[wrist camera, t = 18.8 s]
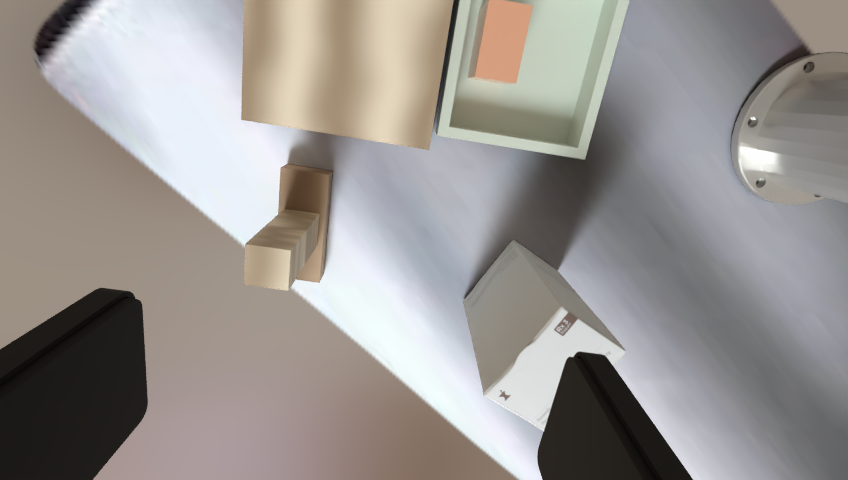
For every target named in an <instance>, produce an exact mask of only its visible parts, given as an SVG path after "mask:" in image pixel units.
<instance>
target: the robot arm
mask: <svg viewBox="0 0 848 480" xmlns="http://www.w3.org/2000/svg"><path fill="white" fill-rule="evenodd" d="M731 155H732V162H733V166H734V169H735V171H736V174H737V176H738V178H739V179H740V181H741V182H742V184H743V185H744V186H745V187H746V188H747V189H748V190H749V191H750V192H752V193H753V194H755V195H756V196H758V197H760V198H762V199H765V200H768V201H771V202H774V203H778V204H785V205H802V204H807V203H812V202H816V201H818V200H821V199H824V198H826V197H827V198H830V199H834V200H838V201H842V202H845V203H848V53H843V52H827V53H817V54H812V55H808V56H804V57H801V58H798V59H796V60H794V61H791V62H789V63H787V64H785V65H784V66H782V67H781V68H779V69H777V70H776V71H774V72H773V73H772V74H771V75H769V76H768V77H767V78H766V79H765V80H764V81H763V82H761V83H760V85H759V86H758V87H757V88H756V89H755V90H754V92H753V93H752V94H751V95H750V96H749V98H748V100H747V101H746V103H745V104H744V106H743V108H742V109H741V112H740V114H739V116H738V119H737V121H736V123H735V127H734V131H733V135H732V144H731ZM145 364H146V363H145V346H144V328H143V310H142V304H141V302H140V301H139V300H137V299H135V297H134V294H133V293H131V292H129V291H122V290H114V289H106V288H99V289H96V290H94V291H93V292H91V293H90V294H88V295H86V296H85V297H83V298H82V299H80V300H78V301H77V302H75V303H74V304H72V305H70V306H69V307H68V308H66V309H64V310H62V311H61V312H59V313H58V314H56V315H55V316H53V317H51V318H50V319H48V320H47V321H45V322H44V323H42V324H40V325H39V326H37V327H36V328H34V329H32V330H31V331H29V332H27V333H26V334H24V335H23V336H21V337H19V338H18V339H16V340H15V341H13V342H11V343H10V344H8V345H7V346H5V347H4V348H2V349H0V480H93V478H94V477H95V476H96V475H97V474H98V472H99V471H100V470H101V469H102V468H103V466H104V465H105V464H106V463H107V462H108V460H109V459H110V458H111V457H112V456H113V454H114V453H115V452H116V451H117V449H118V448H119V447H120V446H121V445H122V444H123V442H124V441H125V440H126V439H127V437H128V436H129V435H130V434H131V433H132V431H133V430H134V429H135V428H136V427H137V425H138V424H139V423H140V422H141V420H142V419H143V417H144V415H145V413H146V409H147V404H148V401H147V400H148V399H147V384H146V383H147V381H146V365H145ZM538 466H539V469H540V473H541V476H542V479H543V480H693V479H692V478H691V476H690V475H689V473H688V472H687V470H686V469H685V468H684V466H683V465H682V463H681V462H680V460H679V459H678V458H677V456H676V455H675V453H674V452H673V451H672V449H671V448H670V446H669V445H668V443H667V442H666V441H665V439H664V438H663V436H662V435H661V433H660V432H659V431H658V429H657V428H656V426H655V425H654V424H653V422H652V421H651V419H650V418H649V416H648V415H647V414H646V412H645V411H644V409H643V408H642V407H641V405H640V404H639V402H638V401H637V399H636V398H635V397H634V395H633V394H632V392H631V391H630V389H629V388H628V387H627V385H626V384H625V382H624V381H623V380H622V378H621V377H620V375H619V374H618V372H617V371H616V370H615V368H614V367H613V365H612V364H611V362H610V361H609V360H608V358H607V357H606V356H605V355H602V354H595V353H588V352H580V351H579V352H577V353H576V354H575V355H574V357H568V358H567V360H566V362H565V365H564V368H563V371H562V374H561V378H560V381H559V384H558V387H557V391H556V394H555V397H554V400H553V403H552V407H551V410H550V413H549V416H548V419H547V423H546V426H545V429H544V432H543V435H542V439H541V442H540V445H539V449H538Z"/></svg>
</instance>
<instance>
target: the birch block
mask: <svg viewBox="0 0 848 480" xmlns="http://www.w3.org/2000/svg"><path fill="white" fill-rule="evenodd" d="M453 1H454V0H244V31H243V73H242V116H241V120H247V121H253V122H259V123H266V124H272V125H278V126H284V127H290V128H297V129H303V130H309V131H315V132H321V133H328V134H334V135H340V136H346V137H352V138H359V139H365V140H371V141H377V142H384V143H390V144H396V145H402V146H408V147H415V148H421V149H427V150H429V148H430V142H431V136H432V130H433V124H434V118H435V112H436V105H437V99H438V93H439V87H440V81H441V75H442V69H443V62H444V56H445V50H446V44H447V38H448V32H449V25H450V19H451V13H452V7H453Z"/></svg>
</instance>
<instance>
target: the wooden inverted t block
mask: <svg viewBox="0 0 848 480" xmlns="http://www.w3.org/2000/svg"><path fill="white" fill-rule="evenodd" d="M332 177H333V171H330V170H323V169H317V168H310V167H304V166H297V165H291V164H286V165H285V166H283V167H281V172H280V191H279V210H278V215H277V216H276V217H275V218H274V219H273V220H272V221H270V222H269V223H268V224H267V225H266V226H265V227H264V228H263V229H262V230H260V231H259V232H258V233H257V234H256V235H255V236H254V237H253V238H252V239H250V240H249V241H248V242H247V243H246V244H245V278H244V284H245V285H250V286H258V287H265V288H272V289H280V290H287V291H288V290H289V289H290V287H291V286H292V284H293V282H294V281H295V279H297V280H304V281H311V282H318V283H319V282H320V280H321V278H322V276H323V274H324V264H325V253H326V242H327V232H328V221H329V210H330V199H331V188H332Z"/></svg>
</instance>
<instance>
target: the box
mask: <svg viewBox="0 0 848 480" xmlns="http://www.w3.org/2000/svg"><path fill="white" fill-rule="evenodd" d="M486 1H487V0H457V3H456V9H455V15H454V22H453V28H452V34H451V40H450V46H449V52H448V58H447V64H446V70H445V76H444V82H443V88H442V94H441V100H440V106H439V112H438V119H437V125H436V131H435V132H436V134H437V136H443V137H449V138H455V139H461V140H468V141H474V142H480V143H486V144H492V145H498V146H504V147H510V148H517V149H523V150H529V151H535V152H541V153H547V154H553V155H559V156H566V157H572V158H578V159H584V160H585V157H586V154H587V150H588V147H589V143H590V140H591V136H592V132H593V129H594V125H595V122H596V118H597V115H598V111H599V107H600V104H601V100H602V97H603V93H604V89H605V86H606V82H607V79H608V75H609V72H610V68H611V64H612V61H613V57H614V54H615V50H616V47H617V43H618V39H619V36H620V32H621V29H622V25H623V22H624V18H625V14H626V11H627V7H628V4H629V0H505V1H510V2H516V3H521V4H527V5H532V6H533V8H532V13H531V17H530V22H529V27H528V31H527V36H526V41H525V45H524V50H523V55H522V59H521V64H520V69H519V73H518V78H517V83H516V84H499V83H493V82H487V81H481V80H476V79H470V78H467V77H468V71H469V65H470V60H471V54H472V48H473V43H474V37H475V32H476V26H477V20H478V15H479V10H480V9H481V8H482V6H483V5H484V4H485V3H486Z"/></svg>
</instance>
